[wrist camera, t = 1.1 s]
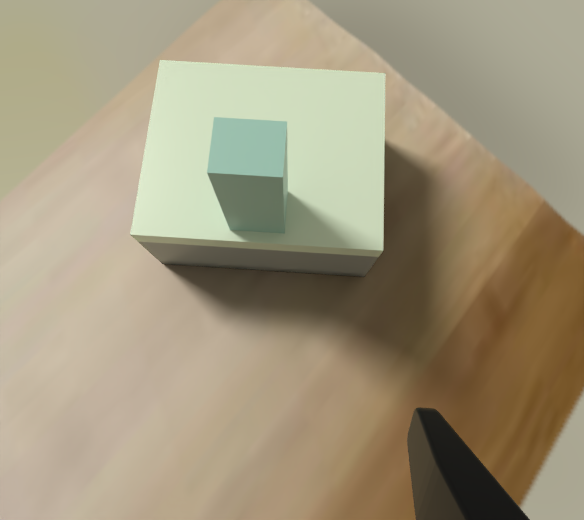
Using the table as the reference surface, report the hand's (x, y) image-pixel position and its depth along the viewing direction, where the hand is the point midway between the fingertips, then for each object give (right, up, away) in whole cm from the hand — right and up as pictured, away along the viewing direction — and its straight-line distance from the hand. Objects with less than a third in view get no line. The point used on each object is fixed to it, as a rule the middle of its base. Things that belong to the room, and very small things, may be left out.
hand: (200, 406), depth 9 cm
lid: (+1, +8, +12) cm, 14 cm away
